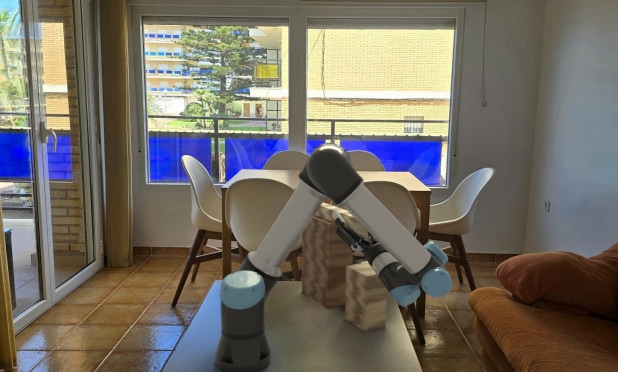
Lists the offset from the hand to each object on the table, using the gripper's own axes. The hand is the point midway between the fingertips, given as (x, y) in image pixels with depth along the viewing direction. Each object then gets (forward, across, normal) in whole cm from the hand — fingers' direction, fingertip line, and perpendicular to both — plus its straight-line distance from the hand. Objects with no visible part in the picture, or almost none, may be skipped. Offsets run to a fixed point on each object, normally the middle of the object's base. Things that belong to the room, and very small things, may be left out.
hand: (345, 211), depth 158 cm
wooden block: (+2, 0, -6) cm, 7 cm away
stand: (-8, 0, -35) cm, 36 cm away
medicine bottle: (-9, +15, -34) cm, 39 cm away
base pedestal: (-28, 0, -24) cm, 37 cm away
